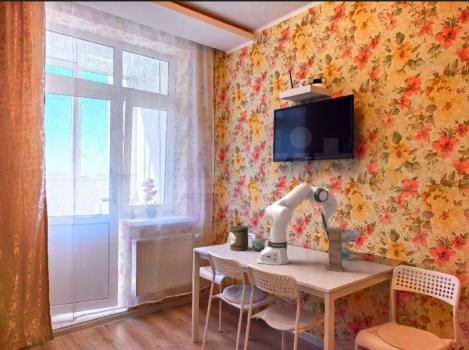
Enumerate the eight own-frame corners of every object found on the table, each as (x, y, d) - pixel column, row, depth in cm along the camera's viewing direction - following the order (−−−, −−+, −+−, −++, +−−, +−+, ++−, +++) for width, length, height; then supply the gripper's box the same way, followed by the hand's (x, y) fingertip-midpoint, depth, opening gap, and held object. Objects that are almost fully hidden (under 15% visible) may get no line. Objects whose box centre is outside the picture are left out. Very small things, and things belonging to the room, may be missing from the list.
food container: (253, 252, 256) (253, 239, 256) (251, 251, 262) (250, 238, 262) (268, 251, 259) (268, 238, 259) (265, 250, 265) (265, 237, 265)
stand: (328, 267, 214) (328, 227, 215) (344, 269, 210) (344, 228, 210) (326, 269, 208) (326, 228, 208) (342, 271, 204) (342, 229, 204)
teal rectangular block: (339, 230, 239) (337, 231, 233) (349, 230, 236) (347, 232, 230) (339, 257, 239) (337, 259, 233) (349, 258, 236) (348, 261, 230)
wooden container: (229, 247, 276) (229, 221, 276) (247, 246, 277) (246, 220, 277) (231, 251, 261) (230, 223, 261) (249, 250, 262) (249, 223, 262)
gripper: (331, 231, 248) (327, 223, 237) (360, 233, 238) (357, 225, 228) (330, 239, 245) (326, 232, 234) (359, 241, 235) (357, 234, 225)
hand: (342, 229), depth 231 cm, fingers open, 8 cm apart
